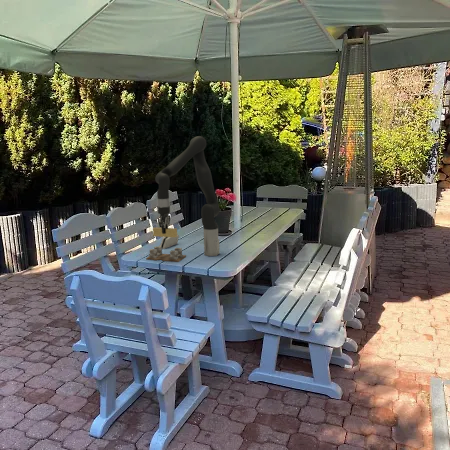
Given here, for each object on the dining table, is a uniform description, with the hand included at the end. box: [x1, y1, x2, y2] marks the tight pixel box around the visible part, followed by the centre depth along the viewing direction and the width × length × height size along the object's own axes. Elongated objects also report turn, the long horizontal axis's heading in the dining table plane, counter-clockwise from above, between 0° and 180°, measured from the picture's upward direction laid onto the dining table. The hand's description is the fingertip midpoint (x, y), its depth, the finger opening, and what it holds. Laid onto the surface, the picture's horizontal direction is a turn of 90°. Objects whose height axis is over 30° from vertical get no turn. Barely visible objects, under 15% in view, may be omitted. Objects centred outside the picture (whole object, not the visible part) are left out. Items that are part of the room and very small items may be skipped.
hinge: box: [158, 234, 180, 250], centre depth 317 cm, size 17×5×10 cm, turn 151°
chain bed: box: [145, 246, 187, 263], centre depth 288 cm, size 22×12×6 cm, turn 72°
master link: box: [152, 226, 178, 238], centre depth 285 cm, size 15×3×5 cm, turn 72°
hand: (165, 232), depth 285 cm, fingers closed on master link, 3 cm apart
